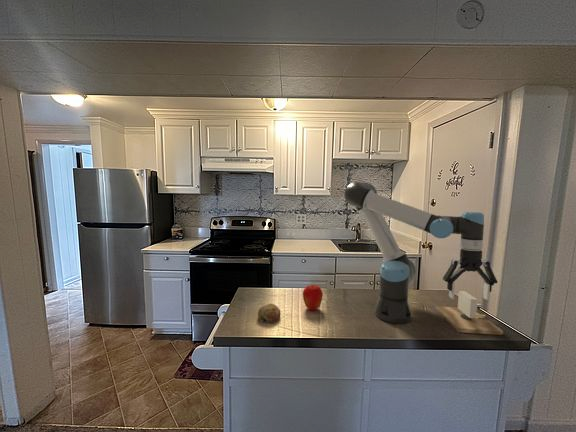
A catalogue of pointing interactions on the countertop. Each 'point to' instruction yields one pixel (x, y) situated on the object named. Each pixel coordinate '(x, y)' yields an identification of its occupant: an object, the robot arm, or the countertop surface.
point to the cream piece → (467, 306)
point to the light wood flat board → (468, 322)
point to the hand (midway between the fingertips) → (468, 298)
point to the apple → (312, 297)
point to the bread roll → (269, 313)
